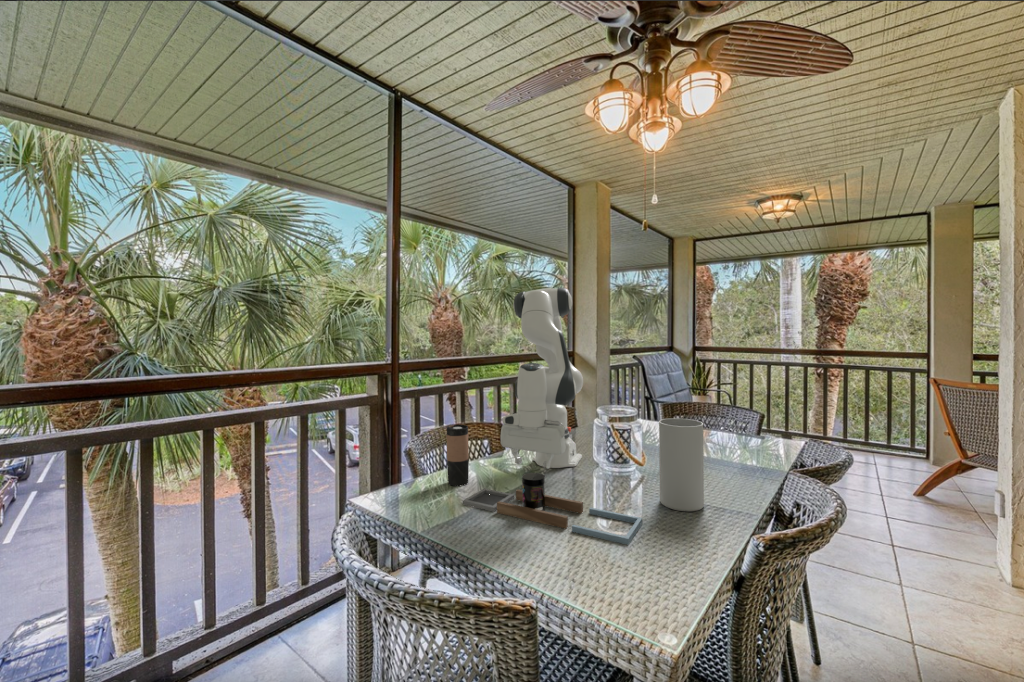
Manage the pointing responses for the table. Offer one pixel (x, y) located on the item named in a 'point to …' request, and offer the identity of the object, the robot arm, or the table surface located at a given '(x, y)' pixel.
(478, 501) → the tray
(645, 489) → the table surface
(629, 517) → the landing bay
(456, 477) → the travel mug
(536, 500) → the supplement container
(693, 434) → the cylinder vase
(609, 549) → the table surface
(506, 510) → the channel
